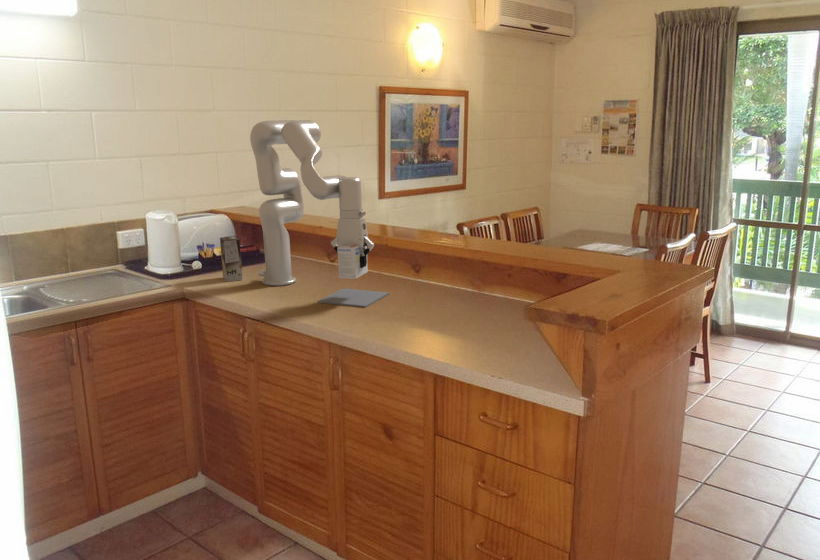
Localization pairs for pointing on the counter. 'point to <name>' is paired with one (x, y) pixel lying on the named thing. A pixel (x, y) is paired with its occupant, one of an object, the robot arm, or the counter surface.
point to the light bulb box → (350, 262)
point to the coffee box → (231, 258)
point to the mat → (353, 297)
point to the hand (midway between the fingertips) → (353, 265)
